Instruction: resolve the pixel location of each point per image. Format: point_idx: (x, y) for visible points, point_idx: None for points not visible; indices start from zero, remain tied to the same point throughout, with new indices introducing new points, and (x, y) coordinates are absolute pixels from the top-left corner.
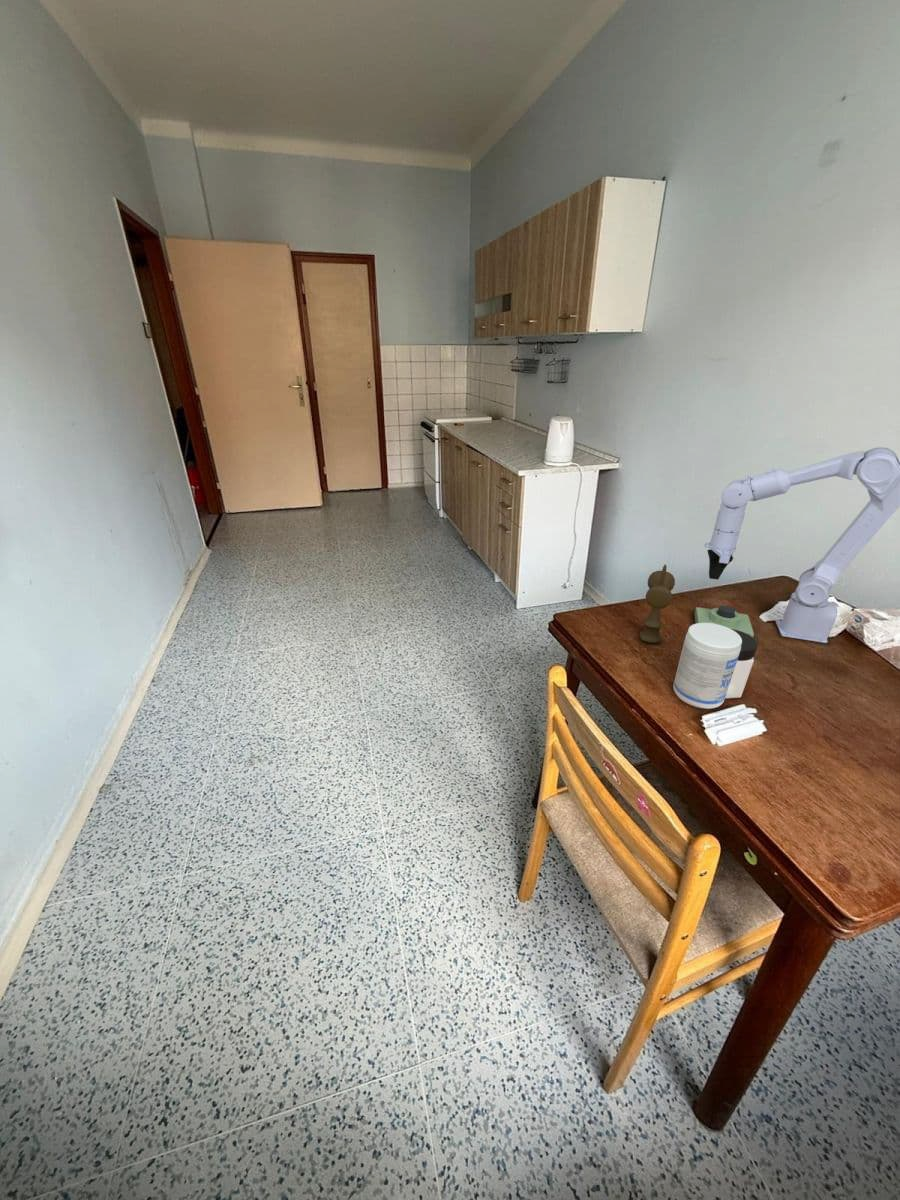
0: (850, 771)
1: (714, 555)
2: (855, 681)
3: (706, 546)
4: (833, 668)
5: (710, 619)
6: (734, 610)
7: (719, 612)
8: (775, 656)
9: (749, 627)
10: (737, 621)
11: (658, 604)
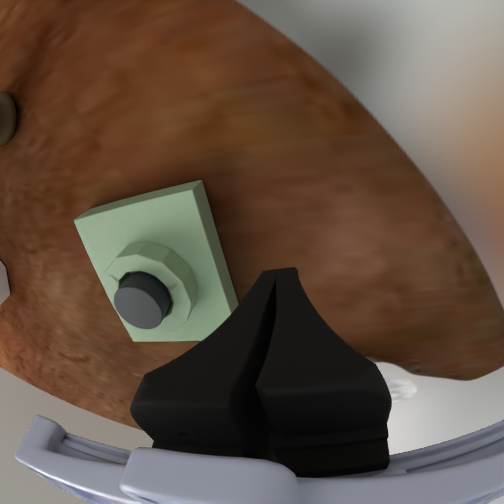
0: (6, 359)
1: (160, 430)
2: None
3: (128, 469)
4: None
5: (125, 247)
6: (143, 327)
7: (123, 282)
8: (122, 354)
9: (159, 336)
10: None
11: None
